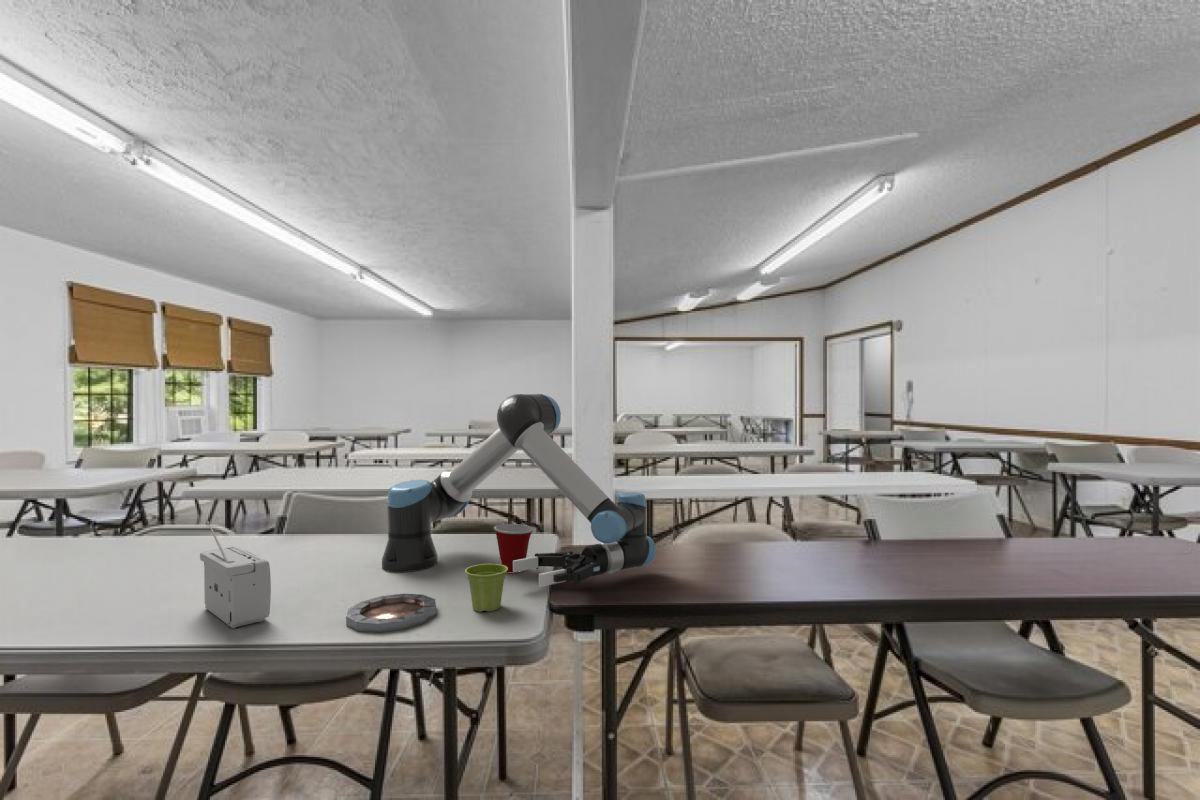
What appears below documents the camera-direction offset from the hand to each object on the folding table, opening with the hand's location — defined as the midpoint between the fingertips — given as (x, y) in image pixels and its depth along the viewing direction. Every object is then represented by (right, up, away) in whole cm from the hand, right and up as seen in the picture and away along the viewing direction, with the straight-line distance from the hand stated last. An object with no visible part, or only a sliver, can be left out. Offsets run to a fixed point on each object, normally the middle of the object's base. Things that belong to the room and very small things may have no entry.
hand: (525, 573), depth 137 cm
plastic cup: (-6, -6, +24) cm, 25 cm away
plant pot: (-8, -6, -5) cm, 12 cm away
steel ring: (-28, -6, -10) cm, 30 cm away
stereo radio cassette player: (-63, -7, -8) cm, 64 cm away
